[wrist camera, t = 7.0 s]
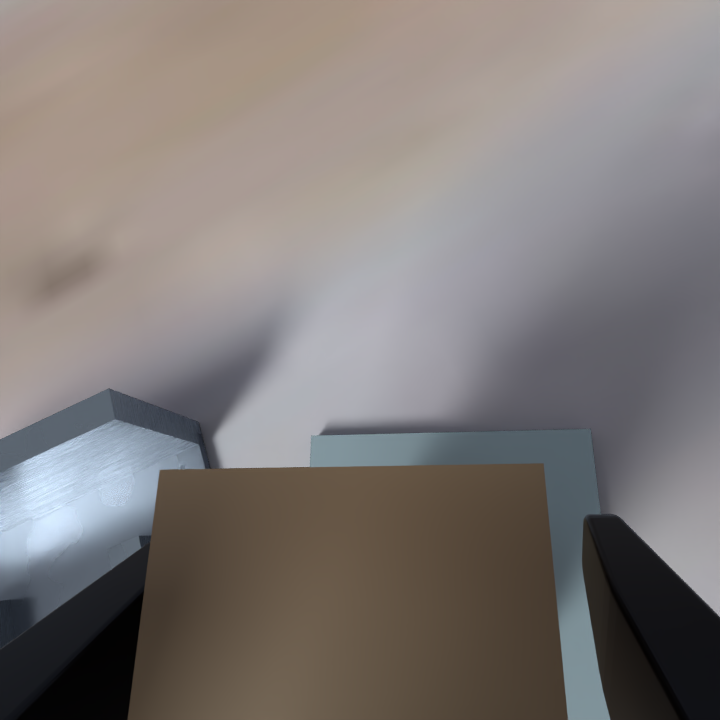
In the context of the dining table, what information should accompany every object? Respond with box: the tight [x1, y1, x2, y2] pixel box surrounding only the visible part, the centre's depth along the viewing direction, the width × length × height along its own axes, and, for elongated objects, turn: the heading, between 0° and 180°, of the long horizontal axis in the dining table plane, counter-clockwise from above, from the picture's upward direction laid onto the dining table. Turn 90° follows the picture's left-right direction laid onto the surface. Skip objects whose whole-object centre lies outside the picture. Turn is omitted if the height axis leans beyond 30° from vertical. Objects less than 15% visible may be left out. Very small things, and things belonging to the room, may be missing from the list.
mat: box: [310, 429, 610, 720], centre depth 16 cm, size 9×9×1 cm
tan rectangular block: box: [128, 463, 568, 720], centre depth 10 cm, size 4×4×12 cm
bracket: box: [0, 389, 210, 649], centre depth 17 cm, size 8×12×5 cm
